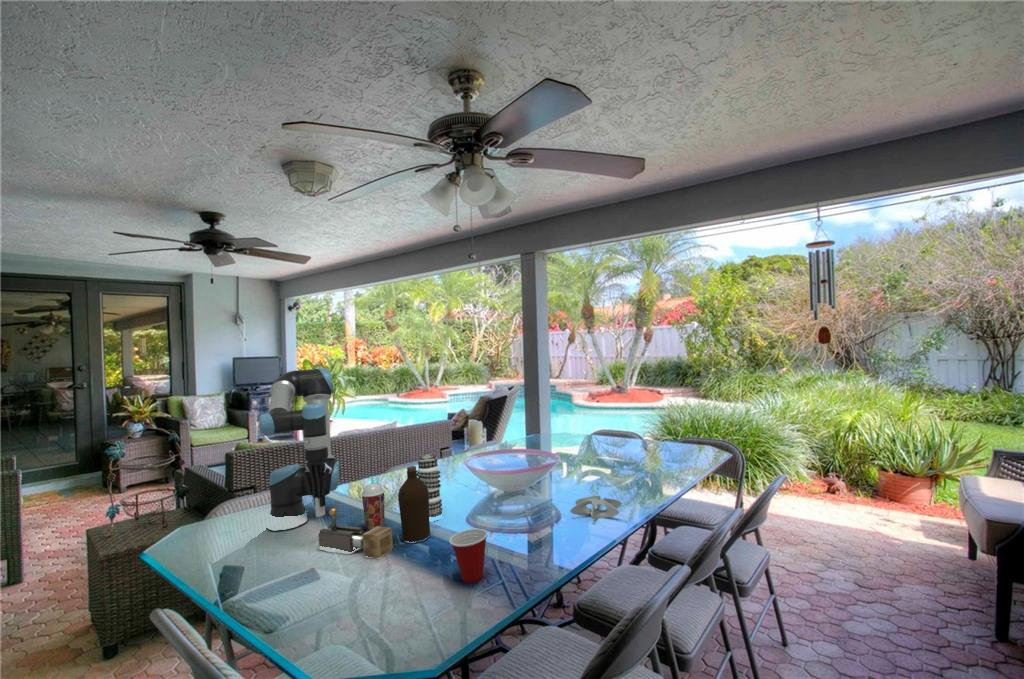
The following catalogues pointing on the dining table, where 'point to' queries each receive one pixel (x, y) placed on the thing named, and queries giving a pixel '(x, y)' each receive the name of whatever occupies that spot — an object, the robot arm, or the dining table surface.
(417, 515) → the olive oil
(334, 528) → the ball knob lever
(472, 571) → the plastic cup
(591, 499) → the sculpture
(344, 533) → the outer sleeve
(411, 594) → the dining table surface
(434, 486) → the decorative candle
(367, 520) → the smoothie
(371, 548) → the socket block
